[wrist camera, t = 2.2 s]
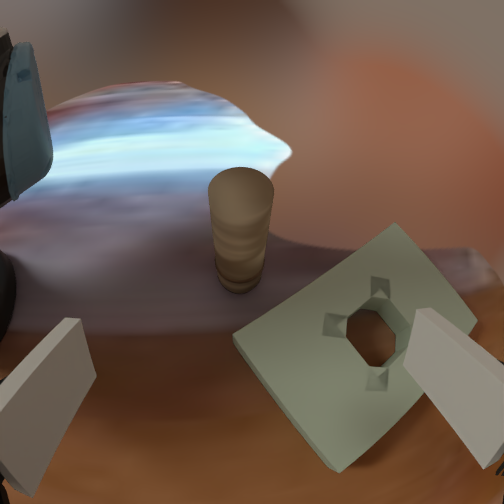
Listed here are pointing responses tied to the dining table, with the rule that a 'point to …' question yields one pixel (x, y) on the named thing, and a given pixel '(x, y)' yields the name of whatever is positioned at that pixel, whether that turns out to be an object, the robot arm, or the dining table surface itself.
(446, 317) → the seat plank
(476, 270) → the dining table surface
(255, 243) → the peg
